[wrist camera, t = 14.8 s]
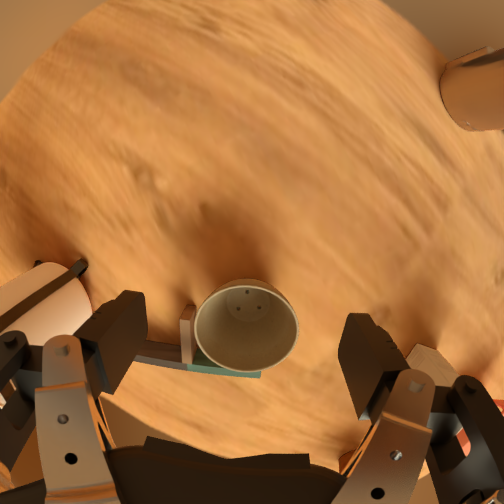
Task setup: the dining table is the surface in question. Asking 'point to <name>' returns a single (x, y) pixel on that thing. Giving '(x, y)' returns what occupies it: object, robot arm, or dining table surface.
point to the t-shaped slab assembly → (185, 352)
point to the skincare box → (432, 365)
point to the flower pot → (246, 326)
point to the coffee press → (43, 305)
